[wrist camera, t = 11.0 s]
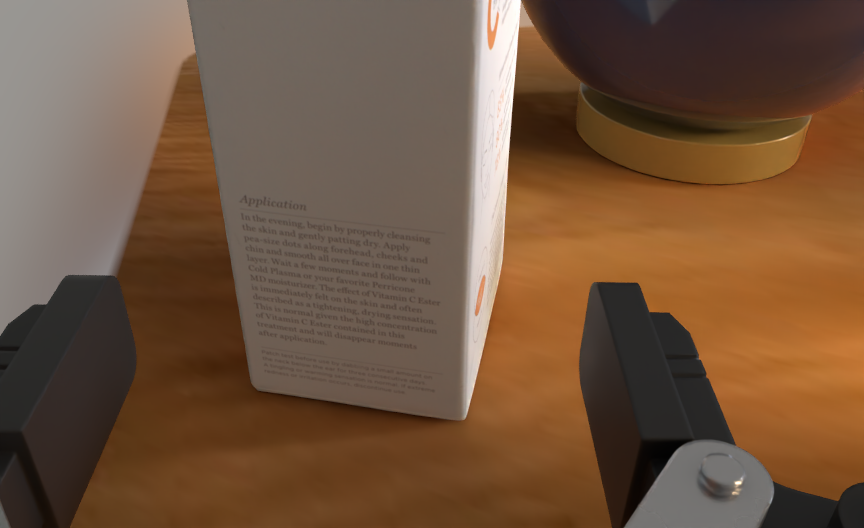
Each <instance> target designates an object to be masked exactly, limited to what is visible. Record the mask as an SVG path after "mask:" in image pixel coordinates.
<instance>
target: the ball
mask: <svg viewBox="0 0 864 528" xmlns="http://www.w3.org/2000/svg"><path fill="white" fill-rule="evenodd" d="M521 1H522V3H523V5H524V8H525V10H526V12H527V14H528V16H529V18H530V19H531V21H532V23H533V25H534V26H535V28H536V30H537V32H538V33H539V35H540V37H541V38H542V40H543V41H544V42H545V44H546V45H547V46H548V47H549V49H550V50H551V51H552V52H553V54H554V55H555V56H556V57H557V59H558V60H559V61H560V62H561V63H562V64H563V66H564V67H565V68H566V69H568V70H569V71H570V72H571V73H572V74H573V75H574V76H575V77H576V78H578V79H579V80H580V81H581V83H580V89H579V97H578V104H577V112H576V120H575V123H576V129H577V131H578V133H579V135H580V137H581V138H582V139H583V140H584V142H585V143H586V144H587V145H589V146H590V147H591V148H592V149H593V150H595V151H596V152H597V153H599V154H600V155H602V156H604V157H606V158H607V159H609V160H611V161H613V162H615V163H617V164H620V165H622V166H624V167H627V168H630V169H632V170H635V171H638V172H641V173H645V174H648V175H652V176H656V177H660V178H665V179H670V180H676V181H682V182H690V183H700V184H737V183H747V182H753V181H759V180H763V179H767V178H770V177H773V176H776V175H778V174H780V173H783V172H784V171H786V170H788V169H789V168H790V167H791V166H793V165H794V164H795V163H796V162H797V160H798V158H799V157H800V154H801V151H802V148H803V145H804V141H805V138H806V135H807V132H808V128H809V125H810V122H811V118H812V114H814V113H817V112H819V111H822V110H824V109H827V108H829V107H831V106H834V105H836V104H839V103H841V102H842V101H844V100H846V99H848V98H850V97H851V96H853V95H855V94H857V93H858V92H860V91H862V90H864V0H521Z"/></svg>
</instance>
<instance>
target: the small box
mask: <svg viewBox="0 0 864 528" xmlns="http://www.w3.org/2000/svg"><path fill="white" fill-rule="evenodd" d="M187 2H188V8H189V14H190V20H191V25H192V32H193V38H194V44H195V50H196V56H197V62H198V67H199V73H200V79H201V85H202V91H203V97H204V103H205V108H206V114H207V120H208V127H209V134H210V139H211V145H212V150H213V156H214V162H215V168H216V175H217V181H218V187H219V192H220V198H221V205H222V211H223V216H224V222H225V229H226V236H227V241H228V246H229V252H230V257H231V264H232V271H233V276H234V281H235V288H236V296H237V301H238V307H239V312H240V319H241V325H242V331H243V337H244V342H245V348H246V355H247V361H248V367H249V374H250V380H251V383H252V386H254V387H255V388H256V389H257V390H258V391H265V392H272V393H279V394H286V395H293V396H299V397H306V398H312V399H318V400H325V401H332V402H339V403H345V404H351V405H357V406H363V407H370V408H375V409H381V410H386V411H393V412H400V413H406V414H413V415H419V416H427V417H434V418H441V419H448V420H457V421H461V420H464V419H465V418H466V416H467V412H468V408H469V405H470V401H471V397H472V393H473V389H474V385H475V381H476V377H477V373H478V369H479V365H480V360H481V356H482V352H483V348H484V343H485V339H486V335H487V330H488V326H489V321H490V317H491V313H492V308H493V304H494V299H495V295H496V291H497V286H498V282H499V277H500V272H501V267H502V261H503V244H504V227H505V211H506V194H507V175H508V157H509V144H510V131H511V118H512V105H513V93H514V81H515V69H516V56H517V43H518V30H519V17H520V3H521V0H187Z"/></svg>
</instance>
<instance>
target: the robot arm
mask: <svg viewBox="0 0 864 528" xmlns="http://www.w3.org/2000/svg"><path fill="white" fill-rule="evenodd" d="M136 357H137V356H136V346H135V341H134V337H133V333H132V329H131V325H130V322H129V318H128V314H127V310H126V306H125V302H124V298H123V294H122V290H121V286H120V283H119V281H118V280H117V278H116V277H115V276H96V275H95V276H94V275H68V276H66V277H65V278H64V279H63V280H62V281H61V283H60V285H59V286H58V288H57V289H56V291H55V292H54V294H53V296H52V297H51V299H50V300H49V302H48V304H47V305H33V306H32V307H30V308H29V309H28V310H26V311H25V312H24V313H22V314H21V315H20V316H18V317H17V318H16V319H15V320H13V321H12V322H11V323H10V324H8V326H7V327H6V329H5V330H4V331H3V333H2V334H1V336H0V528H70V525H71V523H72V521H73V518H74V516H75V514H76V511H77V509H78V507H79V504H80V502H81V500H82V498H83V495H84V493H85V491H86V488H87V486H88V484H89V481H90V479H91V477H92V474H93V472H94V470H95V468H96V465H97V463H98V461H99V458H100V456H101V454H102V451H103V449H104V447H105V444H106V442H107V440H108V438H109V435H110V433H111V431H112V428H113V426H114V424H115V421H116V419H117V417H118V414H119V412H120V410H121V408H122V405H123V403H124V401H125V398H126V396H127V394H128V391H129V389H130V387H131V384H132V382H133V379H134V375H135V370H136ZM579 371H580V383H581V389H582V394H583V398H584V403H585V407H586V412H587V416H588V421H589V425H590V430H591V434H592V439H593V443H594V448H595V452H596V457H597V461H598V466H599V470H600V475H601V479H602V484H603V488H604V493H605V497H606V502H607V506H608V511H609V515H610V520H611V524H612V528H864V482H863V483H858V484H855V485H853V486H851V487H849V488H848V489H846V490H845V491H844V492H843V494H842V495H841V497H840V500H839V501H835V500H831V499H827V498H824V497H820V496H816V495H812V494H809V493H805V492H801V491H797V490H794V489H791V488H788V487H785V486H782V485H780V484H778V483H776V482H774V481H772V480H771V477H770V475H769V473H768V472H767V470H766V468H765V467H764V466H763V465H762V464H761V463H760V462H759V461H758V460H757V459H756V458H755V457H754V456H752V455H751V454H749V453H748V452H747V451H745V450H743V449H741V448H739V447H737V446H736V444H735V442H734V439H733V437H732V434H731V432H730V430H729V427H728V425H727V422H726V420H725V418H724V415H723V413H722V410H721V408H720V405H719V403H718V401H717V398H716V396H715V393H714V391H713V388H712V386H711V384H710V381H709V379H708V378H706V371H705V369H704V367H703V364H702V362H701V360H699V354H698V352H697V350H696V347H695V345H694V342H693V340H692V338H691V335H690V333H689V332H688V331H687V330H686V329H685V328H684V327H683V326H682V325H681V324H680V323H679V322H678V321H677V320H676V319H675V318H674V317H673V316H672V315H671V314H670V313H659V312H649V310H648V307H647V304H646V302H645V299H644V296H643V293H642V291H641V288H640V286H639V284H638V283H616V282H594V283H593V284H592V286H591V289H590V293H589V299H588V305H587V312H586V318H585V324H584V330H583V337H582V343H581V349H580V361H579Z"/></svg>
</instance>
